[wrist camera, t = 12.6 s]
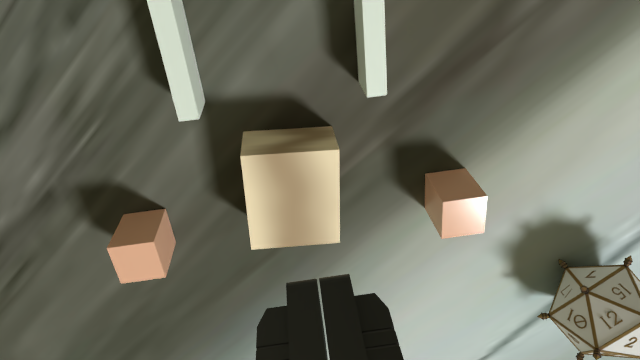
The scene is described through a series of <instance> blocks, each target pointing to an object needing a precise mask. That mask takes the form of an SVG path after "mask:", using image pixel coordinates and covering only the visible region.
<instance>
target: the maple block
mask: <svg viewBox="0 0 640 360" xmlns="http://www.w3.org/2000/svg"><path fill="white" fill-rule="evenodd" d="M240 158H241V166H242V174H243V183H244V191H245V200H246V208H247V216H248V225H249V233H250V242H251V250H253V249H265V248H278V247H291V246H303V245H316V244H328V243H340V182H339V147H338V144H337V141H336V138H335V134H334V131H333V128H332V126H327V127H310V128H294V129H277V130H261V131H244V132H243V137H242V146H241V154H240Z"/></svg>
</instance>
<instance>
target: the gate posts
mask: <svg viewBox="0 0 640 360" xmlns="http://www.w3.org/2000/svg"><path fill="white" fill-rule="evenodd" d="M486 206H487V195H486V194H485V192H484V191H483V190H482V189H481V187H480V186H479V185H478V184H477V182H476V181H475V180H474V179H473V177H472V176H471V175H470V174H469V172H468V171H467V170H466V168H463V169H456V170H449V171H441V172H434V173H426V174H425V209H426V211H427V213H428V215H429V217H430V218H431V220H432V222H433V224H434V226H435V228H436V229H437V231H438V233H439V235H440V237H441V239H444V238H451V237H458V236H465V235H472V234H480V233H484V228H485V217H486ZM175 243H176V241H175V238H174V234H173V231H172V228H171V225H170V221H169V218H168V215H167V212H166V209H159V210H152V211H144V212H137V213H129V214H123V216H122V218H121V220H120V223H119V225H118V227H117V229H116V231H115V233H114V235H113V237H112V239H111V241H110V243H109V245H108V247H107V250H108V252H109V255H110V257H111V260H112V262H113V265H114V267H115V270H116V272H117V275H118V277H119V280H120V282H121V284H122V283H129V282H137V281H144V280H151V279H158V278H165V277H166V275H167V271H168V268H169V264H170V261H171V257H172V254H173V250H174V247H175Z"/></svg>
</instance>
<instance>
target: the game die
mask: <svg viewBox="0 0 640 360" xmlns="http://www.w3.org/2000/svg"><path fill="white" fill-rule="evenodd" d="M632 262H633V261H632V258H631V256H629V257H628V258H625V261H624V265H607V266H582V267H568V266H567V263H565V261H563V260H560V259H559V265H560V266H561V267H563V268H564V269H565V270H564V273H563V276H562V278H561V281H560V284H559V286H558V289H557V292H556V295H555V297H554V300H553V303H552V306H551V308H550V311H549V313H548V314H547V313H541V314H540V315H539V316H537V317H539V318H541V319H543V320H544V319H547V318H550V319H551V320H552V321H553V322H554V323H555V324H556V325H557V326H558V328H559V329H560V330H561V331H562V332H563V333H564V334H565V336H566V337H567V338H568V339H569V340H570V341H571V342H572V343H573V345H574V346H575V347H576V348H577V349H578V350H579V351H580V352H579V353H577V356H576V357H577V360H583V358H584V354H587V355H593V357H594V358H595V359H596V360H597V359H599V358H601V356H613V357H626V358H639V359H640V280H639V279H638V278H637V277H636V276H635V274H634V273H633V272H632V271H631V270H630V269H629V267H628V266H629V265H631V263H632Z"/></svg>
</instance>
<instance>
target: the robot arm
mask: <svg viewBox="0 0 640 360" xmlns="http://www.w3.org/2000/svg"><path fill="white" fill-rule="evenodd" d="M319 280H320V288H321V296H322V303H323V311H324V319H325V326H326V334H327V342H328V349H329V357H330V360H404V359H403V356H402V353H401V349H400V347H399V342H398V339H397V336H396V332H395V331H394V326H393V322H392V319H391V316H390V312H389V309H388V307H387V306H386V305H385V304H384V303H383V302H382V301H381V300H380V298H379V297H378V296H377V295H376V294H375V293H372V294H365V295H358V296H354V293H353V289H352V284H351V280H350V275H349V274H345V275H338V276H331V277H324V278H319ZM286 290H287V306H281V307H274V308H267V309H266V311H265V313H264V315H263V317H262V319H261V320H260V322H259V324H258V326H257V343H256V348H257V351H256V360H328V358H327V350H326V343H325V335H324V328H323V320H322V313H321V306H320V299H319V292H318V285H317V279H311V280H304V281H297V282H290V283H287V284H286Z"/></svg>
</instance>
